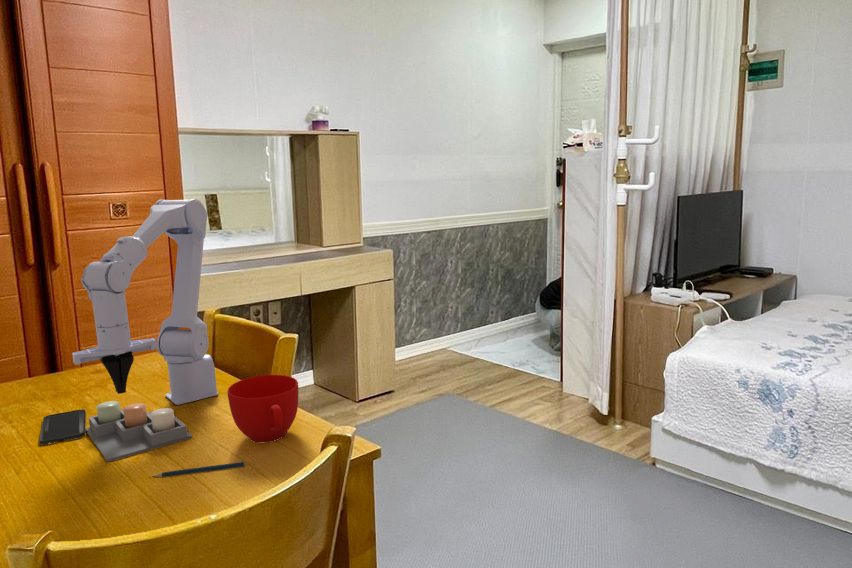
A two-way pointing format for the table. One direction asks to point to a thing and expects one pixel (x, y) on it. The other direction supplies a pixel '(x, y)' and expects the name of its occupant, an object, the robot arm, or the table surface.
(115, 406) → the pale green rounded block
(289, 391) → the ceramic cup
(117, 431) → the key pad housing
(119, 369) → the robot arm
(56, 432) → the phone
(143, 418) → the terracotta key
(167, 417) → the ivory key
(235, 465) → the pencil
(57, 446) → the table surface
